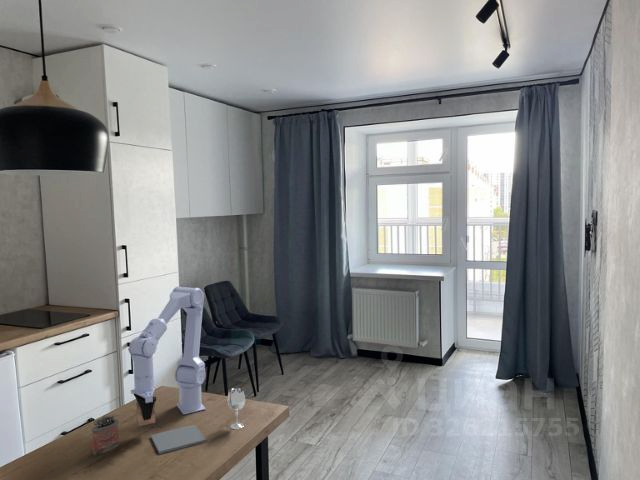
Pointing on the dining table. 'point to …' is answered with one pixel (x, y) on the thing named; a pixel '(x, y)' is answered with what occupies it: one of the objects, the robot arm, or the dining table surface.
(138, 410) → the block
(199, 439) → the mat
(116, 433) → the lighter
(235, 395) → the wineglass
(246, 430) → the dining table surface
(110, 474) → the dining table surface
